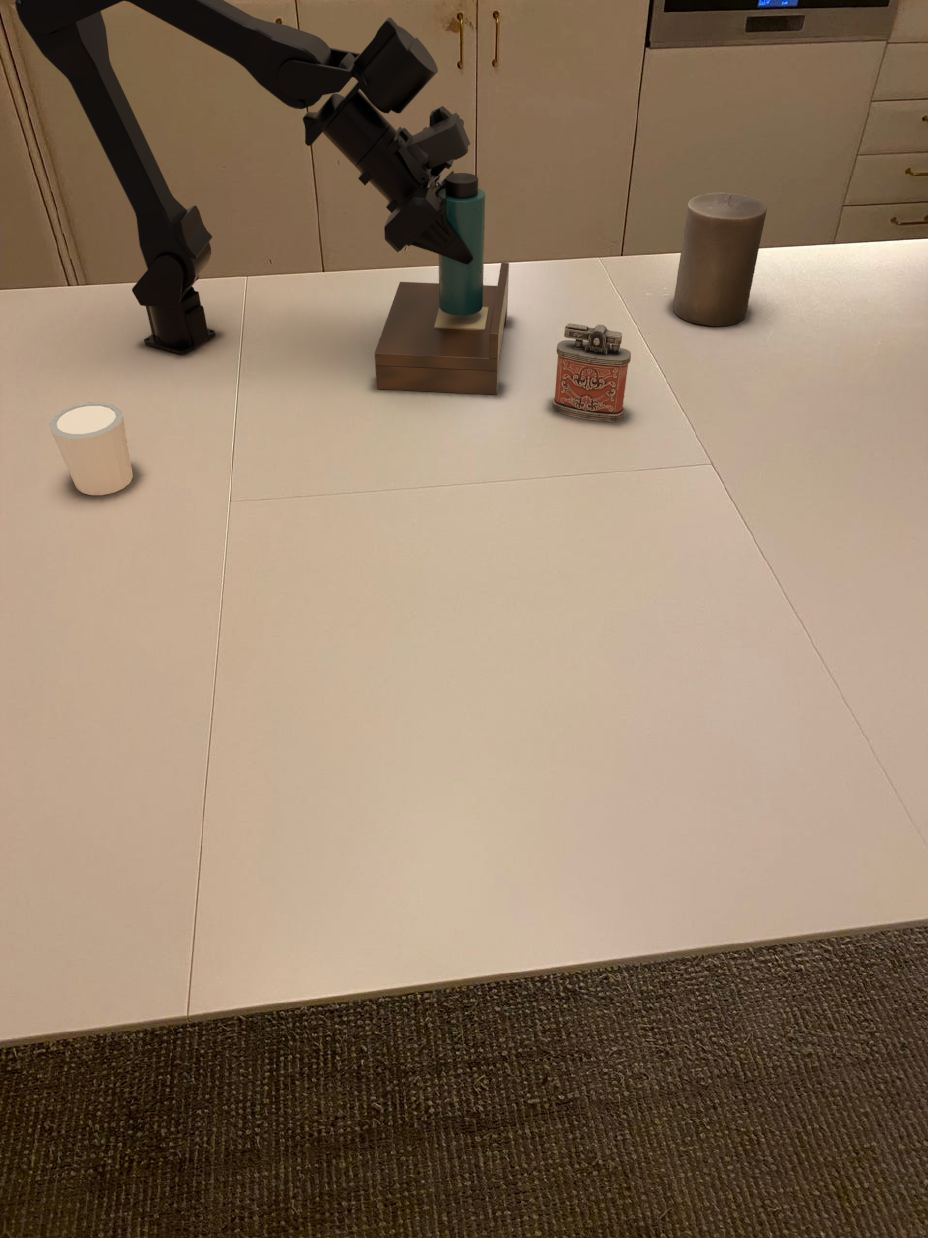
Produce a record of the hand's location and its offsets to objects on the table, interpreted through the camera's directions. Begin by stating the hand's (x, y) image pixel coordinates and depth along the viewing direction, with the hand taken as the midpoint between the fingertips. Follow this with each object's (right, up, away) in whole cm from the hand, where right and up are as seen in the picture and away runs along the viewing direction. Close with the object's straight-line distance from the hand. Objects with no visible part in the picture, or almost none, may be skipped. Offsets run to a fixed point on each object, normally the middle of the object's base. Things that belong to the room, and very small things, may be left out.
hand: (472, 252), depth 109 cm
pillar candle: (+32, -1, +18) cm, 36 cm away
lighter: (+13, -19, -2) cm, 23 cm away
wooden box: (-3, -9, +9) cm, 13 cm away
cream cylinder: (-38, -28, -12) cm, 48 cm away
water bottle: (-1, -5, +5) cm, 7 cm away
